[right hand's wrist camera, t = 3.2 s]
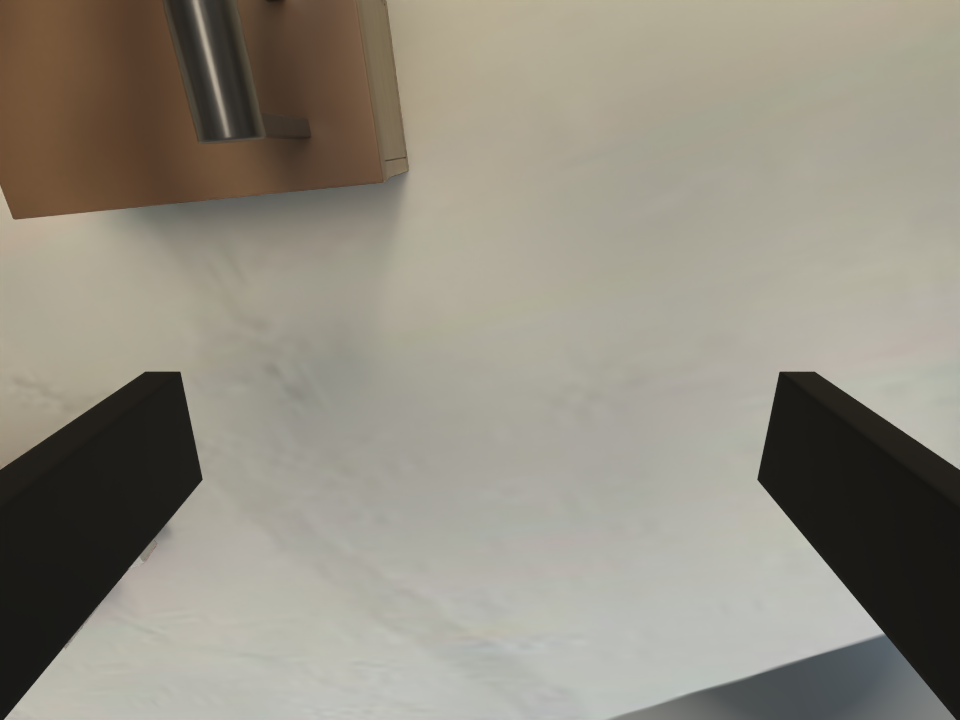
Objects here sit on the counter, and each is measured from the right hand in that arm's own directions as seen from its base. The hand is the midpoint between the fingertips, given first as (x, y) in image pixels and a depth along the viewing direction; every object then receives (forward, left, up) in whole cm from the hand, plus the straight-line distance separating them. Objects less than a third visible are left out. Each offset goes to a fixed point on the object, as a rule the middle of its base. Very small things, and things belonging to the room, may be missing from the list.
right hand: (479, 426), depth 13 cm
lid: (-1, -15, -14) cm, 21 cm away
